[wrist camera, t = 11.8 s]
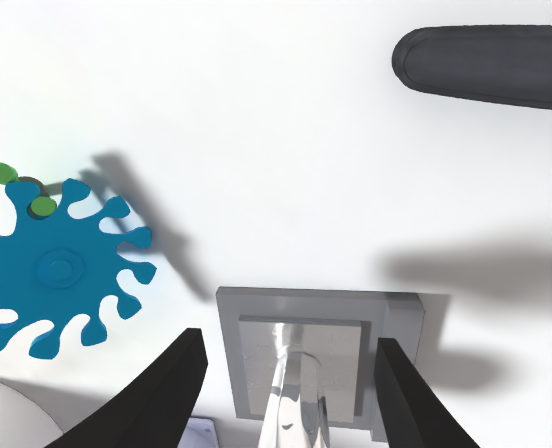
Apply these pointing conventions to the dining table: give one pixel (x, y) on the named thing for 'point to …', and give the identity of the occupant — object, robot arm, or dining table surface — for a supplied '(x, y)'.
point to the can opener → (479, 63)
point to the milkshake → (296, 406)
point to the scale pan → (309, 340)
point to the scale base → (326, 305)
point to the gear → (62, 263)
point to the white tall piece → (24, 422)
